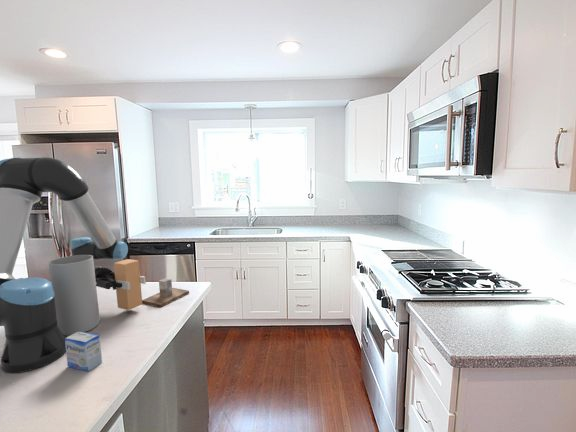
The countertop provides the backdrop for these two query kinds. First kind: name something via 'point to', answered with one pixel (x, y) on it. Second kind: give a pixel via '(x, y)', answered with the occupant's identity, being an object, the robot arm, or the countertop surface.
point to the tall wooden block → (130, 273)
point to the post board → (165, 300)
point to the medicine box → (83, 351)
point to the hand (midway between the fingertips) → (137, 283)
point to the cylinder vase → (75, 293)
